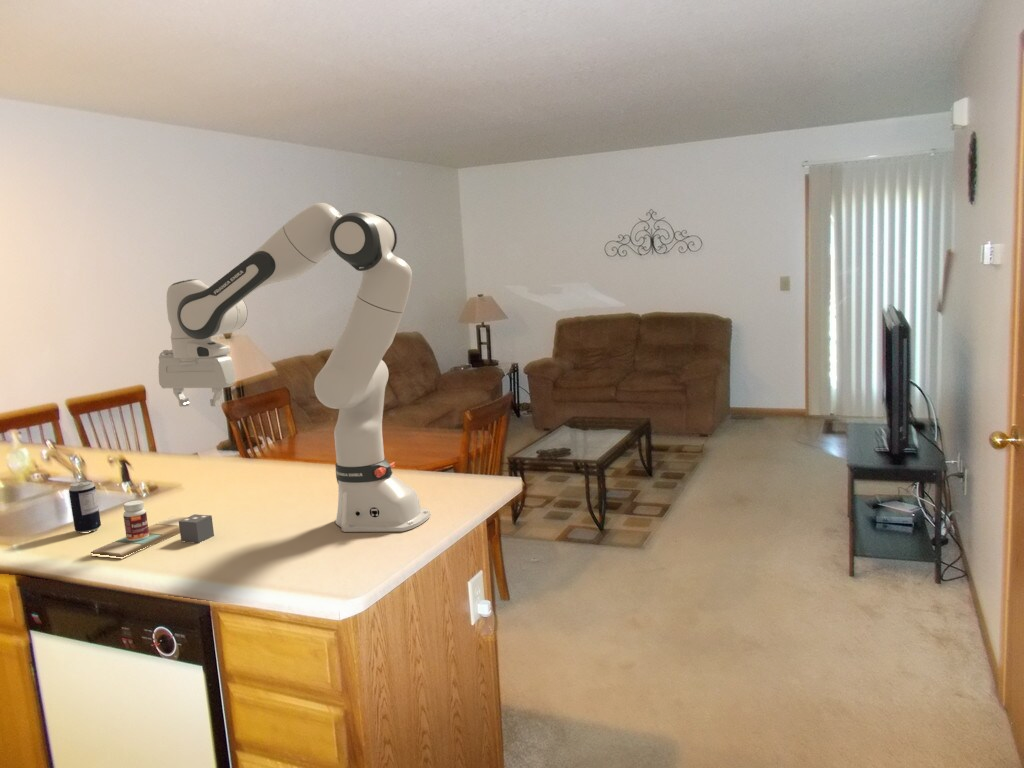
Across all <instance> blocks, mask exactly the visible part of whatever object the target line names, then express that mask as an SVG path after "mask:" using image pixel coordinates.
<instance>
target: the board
mask: <svg viewBox="0 0 1024 768" xmlns="http://www.w3.org/2000/svg"><path fill="white" fill-rule="evenodd" d="M185 518H187V517H183V516H170V517H168V518H166V519H163V520H161V521H158V522H156V523H154V524H152V525H150V526H149V525H148V529H149V537H147V538H146V539H143V540H139V541H128V540H127V538H126V536H124V537H121V538H119V539H117V540H115V541H112V542H110V543H107V544H106V545H102V546H101V547H98V548H96V549H94V550H92V551H90V554H91V553H93V554H100V555H109V556H116V557H124V556H126V555H129V554H131V553H133V552H136V551H138V550H140V549H143V548H145V547H147V546H150V545H153V544H155V543H157V544H159V543H161V542H163V541H165V540H164V539H166V540H168V539H169V537H170V538H172V537H174V536H176V535H178V533H179V534H180V528H179V521H181V520H183V519H185ZM171 536H172V537H171ZM167 538H168V539H167ZM162 540H163V541H162ZM160 541H161V542H160ZM158 542H159V543H158ZM155 545H156V544H155ZM153 546H154V545H153Z"/></svg>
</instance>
